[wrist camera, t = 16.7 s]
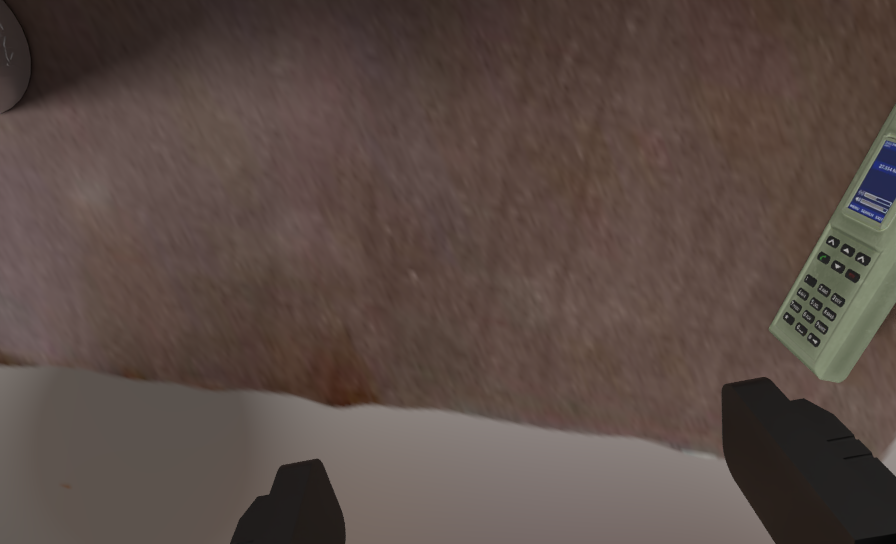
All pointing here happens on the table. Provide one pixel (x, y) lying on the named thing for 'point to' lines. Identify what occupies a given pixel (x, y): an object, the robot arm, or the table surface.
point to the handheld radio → (847, 271)
